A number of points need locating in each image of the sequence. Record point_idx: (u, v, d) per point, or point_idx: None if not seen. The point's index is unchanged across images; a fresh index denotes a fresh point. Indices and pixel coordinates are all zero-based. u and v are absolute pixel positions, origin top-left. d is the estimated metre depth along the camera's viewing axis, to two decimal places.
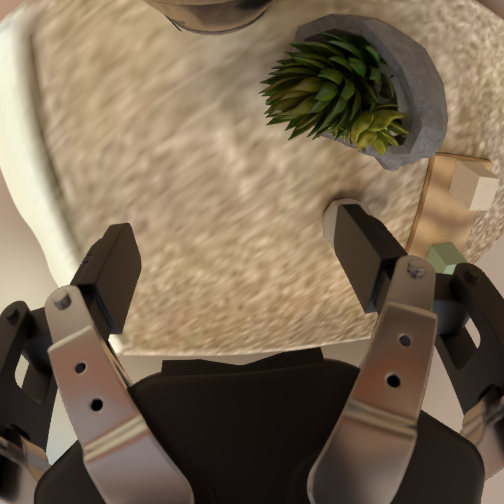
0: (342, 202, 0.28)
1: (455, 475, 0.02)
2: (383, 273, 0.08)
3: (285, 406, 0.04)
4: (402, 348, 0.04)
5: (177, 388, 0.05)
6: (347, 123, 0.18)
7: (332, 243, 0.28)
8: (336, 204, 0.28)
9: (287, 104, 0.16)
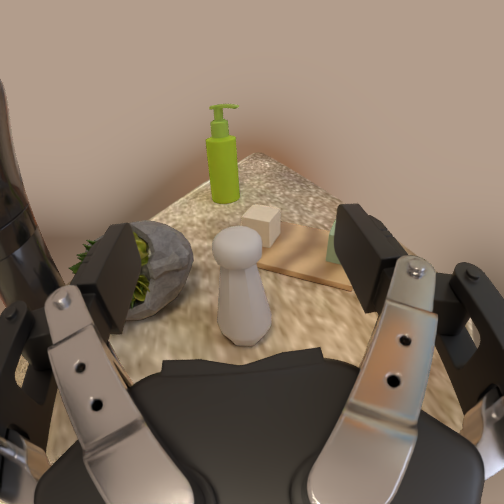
0: None
1: (455, 475, 0.02)
2: (383, 273, 0.08)
3: (285, 406, 0.04)
4: (403, 348, 0.04)
5: (177, 388, 0.05)
6: None
7: (238, 324, 0.27)
8: None
9: None
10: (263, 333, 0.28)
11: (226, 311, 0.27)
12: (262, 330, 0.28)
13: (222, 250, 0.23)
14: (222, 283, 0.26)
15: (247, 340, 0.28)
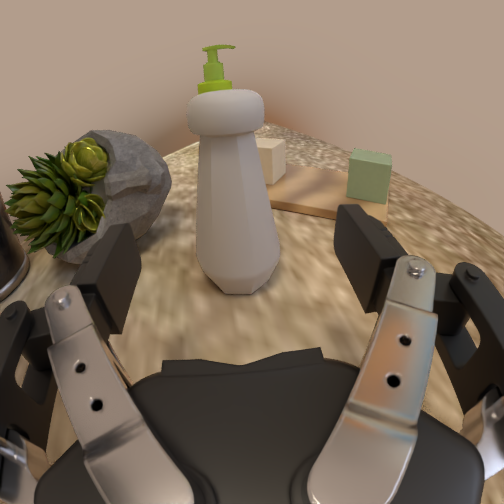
0: None
1: (455, 475, 0.02)
2: (383, 273, 0.08)
3: (285, 406, 0.04)
4: (402, 348, 0.04)
5: (177, 388, 0.05)
6: (78, 192, 0.19)
7: (226, 246, 0.17)
8: None
9: None
10: (268, 268, 0.18)
11: (208, 224, 0.17)
12: (267, 261, 0.18)
13: (200, 102, 0.13)
14: (202, 174, 0.16)
15: (242, 278, 0.18)
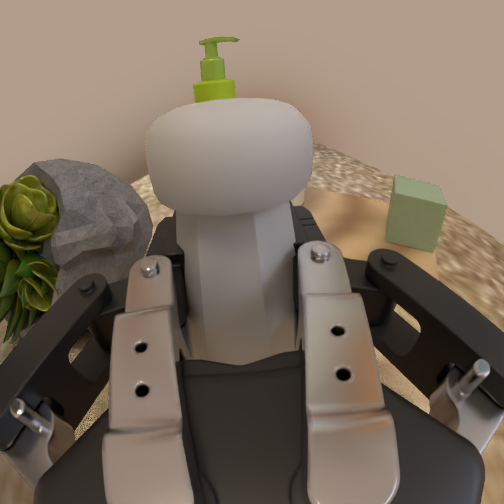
0: None
1: (452, 473, 0.02)
2: (293, 259, 0.08)
3: (285, 406, 0.04)
4: (338, 338, 0.05)
5: None
6: (20, 258, 0.12)
7: None
8: None
9: None
10: None
11: (201, 353, 0.09)
12: None
13: (167, 136, 0.05)
14: None
15: None
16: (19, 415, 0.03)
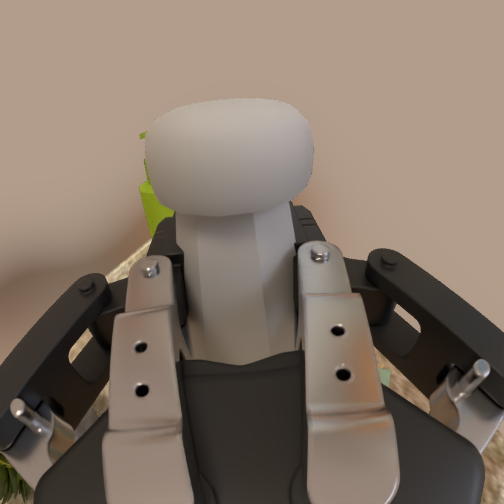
0: None
1: (452, 473, 0.02)
2: (293, 259, 0.08)
3: (285, 406, 0.04)
4: (338, 338, 0.05)
5: None
6: None
7: None
8: None
9: None
10: None
11: (201, 354, 0.09)
12: None
13: (166, 136, 0.05)
14: (184, 274, 0.08)
15: None
16: (19, 415, 0.03)
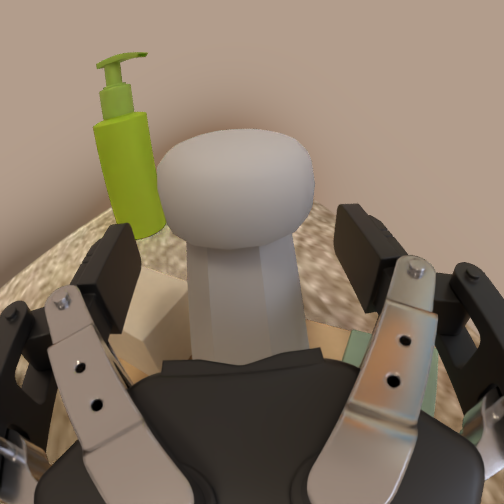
0: None
1: (455, 475, 0.02)
2: (383, 273, 0.08)
3: (285, 406, 0.04)
4: (403, 348, 0.04)
5: (177, 388, 0.05)
6: None
7: None
8: None
9: None
10: None
11: None
12: None
13: (179, 176, 0.06)
14: (194, 293, 0.09)
15: None
16: None
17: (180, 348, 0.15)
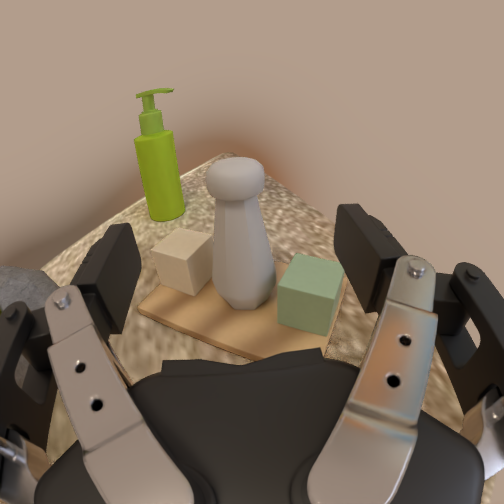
0: None
1: (455, 475, 0.02)
2: (383, 273, 0.08)
3: (285, 406, 0.04)
4: (402, 348, 0.04)
5: (177, 388, 0.05)
6: None
7: (236, 277, 0.23)
8: (214, 283, 0.26)
9: None
10: (267, 291, 0.24)
11: (222, 261, 0.23)
12: (266, 286, 0.24)
13: (217, 176, 0.19)
14: (218, 224, 0.22)
15: (247, 299, 0.24)
16: None
17: (203, 273, 0.28)
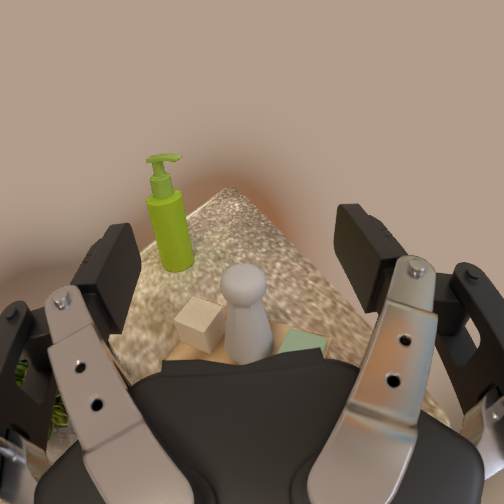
0: None
1: (455, 475, 0.02)
2: (383, 273, 0.08)
3: (285, 406, 0.04)
4: (402, 348, 0.04)
5: (177, 388, 0.05)
6: None
7: (244, 350, 0.29)
8: None
9: None
10: (267, 356, 0.31)
11: (233, 339, 0.29)
12: (266, 354, 0.30)
13: (229, 289, 0.25)
14: (229, 314, 0.28)
15: None
16: None
17: (216, 336, 0.34)
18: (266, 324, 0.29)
